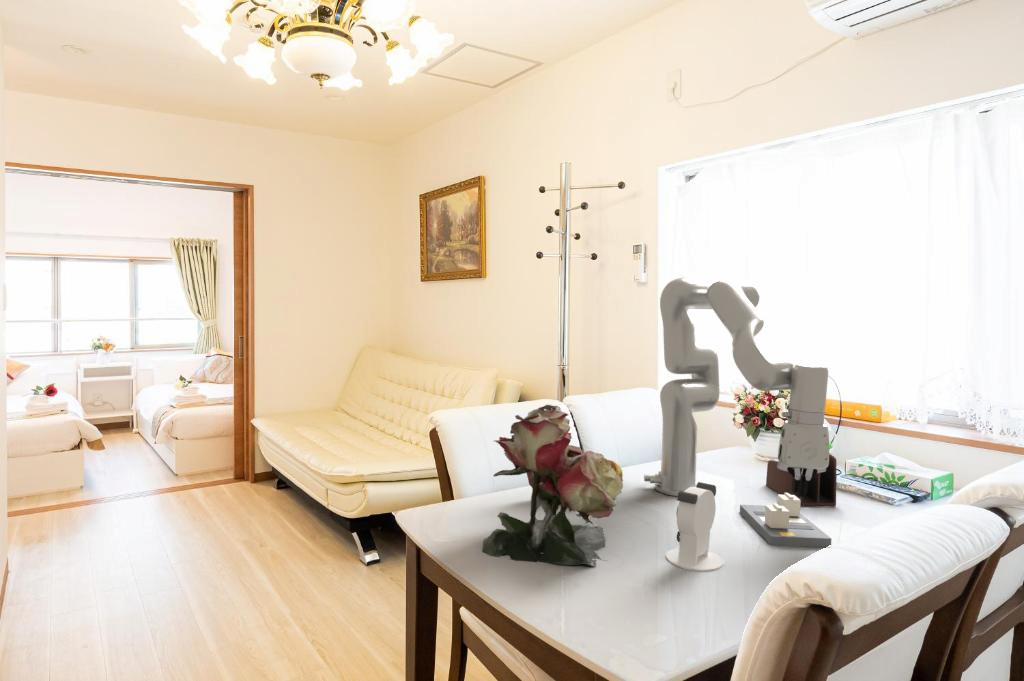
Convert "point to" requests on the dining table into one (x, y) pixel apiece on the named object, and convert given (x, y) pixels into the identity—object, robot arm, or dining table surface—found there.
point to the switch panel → (796, 535)
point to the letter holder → (818, 486)
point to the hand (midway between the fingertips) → (799, 495)
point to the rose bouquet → (554, 493)
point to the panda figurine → (695, 529)
